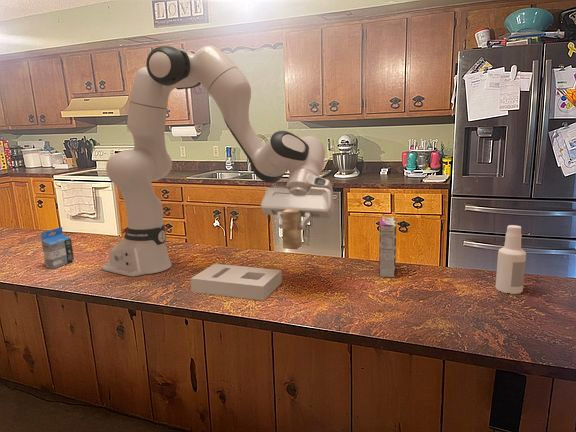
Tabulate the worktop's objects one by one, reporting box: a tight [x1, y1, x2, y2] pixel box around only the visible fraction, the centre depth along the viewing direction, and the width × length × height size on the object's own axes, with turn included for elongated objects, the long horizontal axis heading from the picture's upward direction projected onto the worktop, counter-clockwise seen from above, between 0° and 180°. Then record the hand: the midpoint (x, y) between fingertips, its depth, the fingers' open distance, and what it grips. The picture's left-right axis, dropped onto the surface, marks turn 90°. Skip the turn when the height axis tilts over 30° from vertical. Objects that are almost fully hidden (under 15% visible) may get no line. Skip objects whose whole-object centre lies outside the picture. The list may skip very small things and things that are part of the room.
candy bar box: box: [378, 216, 397, 278], centre depth 139 cm, size 11×5×16 cm, turn 168°
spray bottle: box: [494, 224, 527, 295], centre depth 122 cm, size 7×7×18 cm
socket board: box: [190, 263, 283, 302], centre depth 129 cm, size 22×14×4 cm, turn 71°
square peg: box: [281, 209, 303, 250], centre depth 121 cm, size 4×4×10 cm
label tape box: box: [40, 226, 75, 270], centre depth 153 cm, size 9×4×12 cm, turn 160°
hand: (291, 228), depth 120 cm, fingers closed on square peg, 4 cm apart
